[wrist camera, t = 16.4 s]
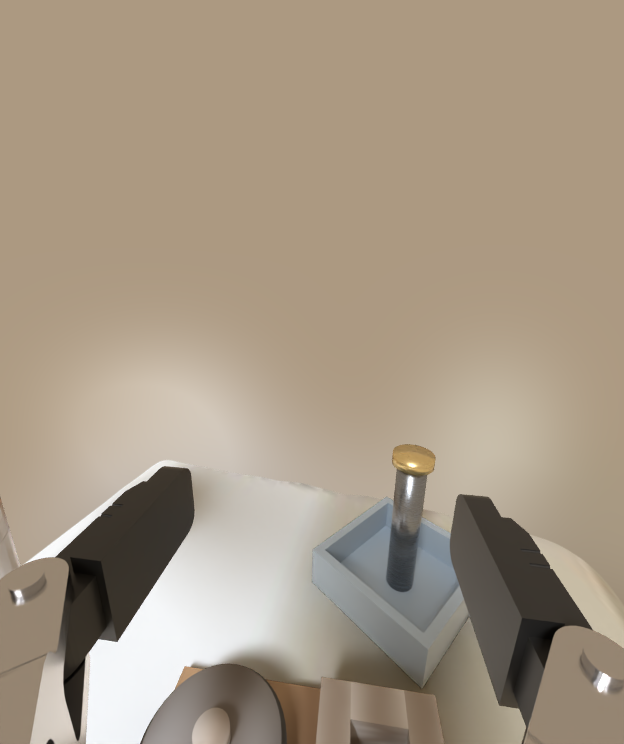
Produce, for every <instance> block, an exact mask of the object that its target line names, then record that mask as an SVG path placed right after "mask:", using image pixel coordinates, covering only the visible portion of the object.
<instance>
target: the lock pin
mask: <svg viewBox="0 0 624 744" xmlns="http://www.w3.org/2000/svg"><path fill="white" fill-rule="evenodd" d="M392 463H393V465H394V466H395V467H396V468H397V474H396V484H395V493H394V503H393V513H392V523H391V532H390V542H389V552H388V562H387V572H386V581H387V583H388V585H389V586H390V587H391V588H392V589H394V590H396V591H398V592H407V591H409V590H410V589H411V588H412V586H413V580H414V572H415V565H416V557H417V549H418V542H419V534H420V526H421V519H422V511H423V503H424V495H425V488H426V479H427V475H428V474H430V473H431V472H433V470H434V466H435V455H434V454H433V453H432V452H431V451H430V450H428V449H426V448H424V447H421V446H417V445H410V444H409V445H408V444H405V445H400V446H397V447H395V448H394V450H393V458H392Z"/></svg>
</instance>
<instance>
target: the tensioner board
mask: <svg viewBox="0 0 624 744" xmlns="http://www.w3.org/2000/svg"><path fill="white" fill-rule="evenodd" d="M140 744H444V739H443V734H442V729H441V723H440V718H439V713H438V707H437V702H436V697H435V695H431V694H425V693H419V692H413V691H406V690H400V689H394V688H388V687H382V686H375V685H369V684H363V683H357V682H351V681H344V680H338V679H332V678H326V677H322V678H321V689H319V688H313V687H307V686H301V685H295V684H289V683H283V682H277V681H271V680H266V679H264V678H263V677H262V676H261V675H260V674H258V673H257V672H255V671H254V670H252V669H249V668H247V667H244V666H240V665H236V664H220V665H215V666H211V667H209V668H206V669H199V668H193V667H186V666H185V667H184V669H183V672H182V674H181V676H180V678H179V681H178V683H177V685H176V688H175V690H174V691H173V692H172V693H171V694H170V695H169V697H168V698H167V699H166V700H165V701H164V703H163V704H162V705H161V707H160V708H159V709H158V711H157V712H156V714H155V715H154V717H153V719H152V720H151V722H150V724H149V726H148V727H147V729H146V731H145V733H144V736H143V738H142V740H141V743H140Z"/></svg>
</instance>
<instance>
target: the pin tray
mask: <svg viewBox="0 0 624 744" xmlns="http://www.w3.org/2000/svg"><path fill="white" fill-rule="evenodd" d="M393 503H394V501H393V500H392V499H390V498H388V497H385V498H384V499H382V500H381V501H380V502H378V503H377V504H375V505H374V506H373V507H371V508H370V509H368V510H367V511H366V512H364V513H363V514H361V515H360V516H359V517H357V518H356V519H354V520H353V521H352V522H350V523H349V524H347V525H346V526H345V527H343V528H342V529H340V530H339V531H338V532H336V533H335V534H334V535H332V536H331V537H329V538H328V539H327V540H325V541H324V542H322V543H321V544H320V545H318V546H317V547H315V548H314V549H313V567H312V582H313V583H314V584H315V585H316V586H317V587H318V588H319V589H320V590H321V591H322V592H323V593H324V594H325V595H326V596H327V597H328V598H329V599H330V600H331V601H332V602H333V603H334V604H335V605H336V606H337V607H338V608H339V609H340V610H342V611H343V612H344V613H345V614H346V615H347V616H348V617H349V618H350V619H351V620H352V621H353V622H354V623H355V624H356V625H357V626H358V627H359V628H360V629H361V630H362V631H363V632H364V633H365V634H366V635H367V636H368V637H369V638H370V639H371V640H372V641H373V642H374V643H375V644H376V645H377V646H378V647H379V648H380V649H382V650H383V651H384V652H385V653H386V654H387V655H388V656H389V657H390V658H391V659H392V660H393V661H394V662H395V663H396V664H397V665H398V666H399V667H400V668H401V669H402V670H403V671H404V672H405V673H406V674H407V675H408V676H409V677H410V678H411V679H412V680H413V681H414V682H415V683H416V684H417V685H418V686H419V687H421V688H423V687H424V685H425V683H426V682H427V680H428V679H429V677H430V676H431V674H432V673H433V671H434V670H435V668H436V666H437V665H438V663H439V662H440V660H441V659H442V657H443V656H444V654H445V653H446V651H447V650H448V648H449V646H450V645H451V643H452V642H453V640H454V639H455V637H456V636H457V634H458V633H459V631H460V629H461V628H462V626H463V625H464V623H465V622H466V620H467V619H468V617H469V613H468V610H467V607H466V604H465V601H464V598H463V595H462V592H461V589H460V586H459V583H458V580H457V577H456V574H455V571H454V568H453V565H452V561H451V555H450V536H451V533H449V532H447V531H445V530H444V529H442V528H440V527H439V526H437V525H435V524H433V523H432V522H430V521H428V520H426V519H425V518H423V517H422V519H421V526H420V534H419V542H418V549H417V557H416V565H415V572H414V580H413V586H412V588H411V589H410V590H409V591H407V592H398V591H396V590H394V589H392V588H391V587H390V586H389V585H388V583H387V581H386V572H387V562H388V552H389V542H390V532H391V523H392V513H393Z"/></svg>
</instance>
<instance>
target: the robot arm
mask: <svg viewBox="0 0 624 744" xmlns="http://www.w3.org/2000/svg"><path fill="white" fill-rule="evenodd" d="M193 519H194V501H193V491H192V480H191V473H190V471H189V469H187V468H177V467H166V466H164V467H161V468H160V469H159V470H158V471H157V472H156V473H155V474H154V475H153V476H152V477H151V478H150V479H149V480H148V481H147V482H145V481H143V482H141V483H139V484H138V485H136V486H134V487H132V488H130V489H129V490H127V491H125V492H124V493H123V494H122V495H121V496H120V497H119V498H118V499H117V500H116V501H115V502H114V503H113V505H112V506H109V507H108V508H107V509H106V510H105V511H104V512H103V513H102V515H101V517H98V518H97V519H95V520H94V521H93V522H92V523H91V524H90V525H89V526H88V527H87V528H86V529H85V530H84V531H83V532H82V533H80V534H79V535H78V536H77V537H76V538H75V539H74V540H73V541H72V542H71V543H70V544H69V545H68V546H67V547H66V548H64V549H63V550H62V551H61V552H60V553H59V554H58V555H57V556H56V557H55V558H54V557H50V558H42V559H38V560H34V561H32V562H29V563H26V564H24V565H22V566H20V563H19V560H18V556H17V552H16V549H15V545H14V542H13V539H12V535H11V532H10V528H9V525H8V522H7V519H6V515H5V512H4V508H3V505H2V501H1V498H0V744H86V729H87V710H88V692H89V674H90V655H89V651H90V650H91V649H92V647H93V646H94V644H95V643H96V641H97V640H98V639H102V640H108V641H114V642H117V641H118V640H119V638H120V637H121V635H122V634H123V632H124V631H125V629H126V628H127V626H128V625H129V623H130V622H131V620H132V618H133V617H134V615H135V614H136V612H137V611H138V609H139V608H140V606H141V605H142V603H143V602H144V600H145V599H146V597H147V595H148V594H149V592H150V591H151V589H152V588H153V586H154V585H155V583H156V582H157V580H158V579H159V577H160V576H161V574H162V573H163V571H164V569H165V568H166V566H167V565H168V563H169V562H170V560H171V559H172V557H173V556H174V554H175V553H176V551H177V550H178V548H179V546H180V545H181V543H182V542H183V540H184V539H185V537H186V536H187V534H188V533H189V531H190V529H191V526H192V523H193ZM450 555H451V561H452V565H453V568H454V571H455V574H456V577H457V580H458V583H459V586H460V589H461V592H462V595H463V598H464V601H465V604H466V607H467V610H468V613H469V616H470V619H471V622H472V625H473V628H474V631H475V634H476V637H477V640H478V643H479V646H480V649H481V652H482V655H483V658H484V661H485V664H486V667H487V670H488V673H489V676H490V679H491V682H492V685H493V688H494V691H495V694H496V697H497V700H498V703H499V705H500V706H506V707H512V708H518V709H520V711H521V714H522V717H523V719H524V722H525V725H526V730H525V733H524V736H523V740H522V743H521V744H624V648H622V647H621V646H619V645H618V644H617V643H615V642H614V641H612V640H611V639H609V638H607V637H606V636H604V635H602V634H600V633H598V632H595V631H593V629H592V628H591V626H590V625H589V623H588V622H587V620H586V619H585V617H584V616H583V614H582V613H581V611H580V610H579V608H578V607H577V605H576V604H575V602H574V601H573V599H572V598H571V596H570V595H569V593H568V592H567V590H566V589H565V587H564V586H563V584H562V583H561V581H560V580H559V578H558V577H557V575H556V574H555V572H554V571H553V569H550V565H549V563H548V562H547V560H546V559H545V557H544V556H543V554H540V550H539V548H538V547H537V545H536V544H535V542H534V541H533V539H532V538H531V536H530V535H529V533H527V532H526V531H525V530H524V529H523V528H521V527H520V526H519V525H518V524H517V523H516V522H515V521H513V520H512V519H511V518H503V517H501V516H500V514H499V512H498V511H497V509H496V507H495V506H494V504H493V502H492V501H491V499H490V498H489V497H483V496H473V495H462V494H460V495H458V497H457V500H456V505H455V511H454V518H453V524H452V530H451V536H450Z"/></svg>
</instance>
